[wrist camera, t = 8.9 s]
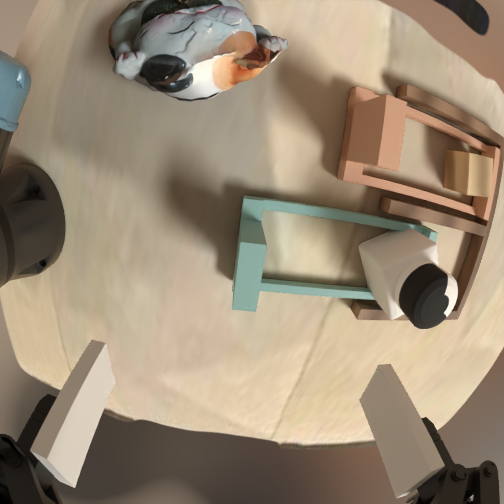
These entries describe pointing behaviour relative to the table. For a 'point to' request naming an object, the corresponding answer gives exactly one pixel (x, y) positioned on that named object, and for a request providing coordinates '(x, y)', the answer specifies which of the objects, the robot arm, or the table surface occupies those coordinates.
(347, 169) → the sled
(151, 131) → the table surface
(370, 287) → the medicine bottle
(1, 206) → the robot arm
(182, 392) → the table surface
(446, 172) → the oak cube
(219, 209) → the table surface
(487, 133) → the lane rails
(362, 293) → the frame
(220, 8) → the lucky cat figurine
